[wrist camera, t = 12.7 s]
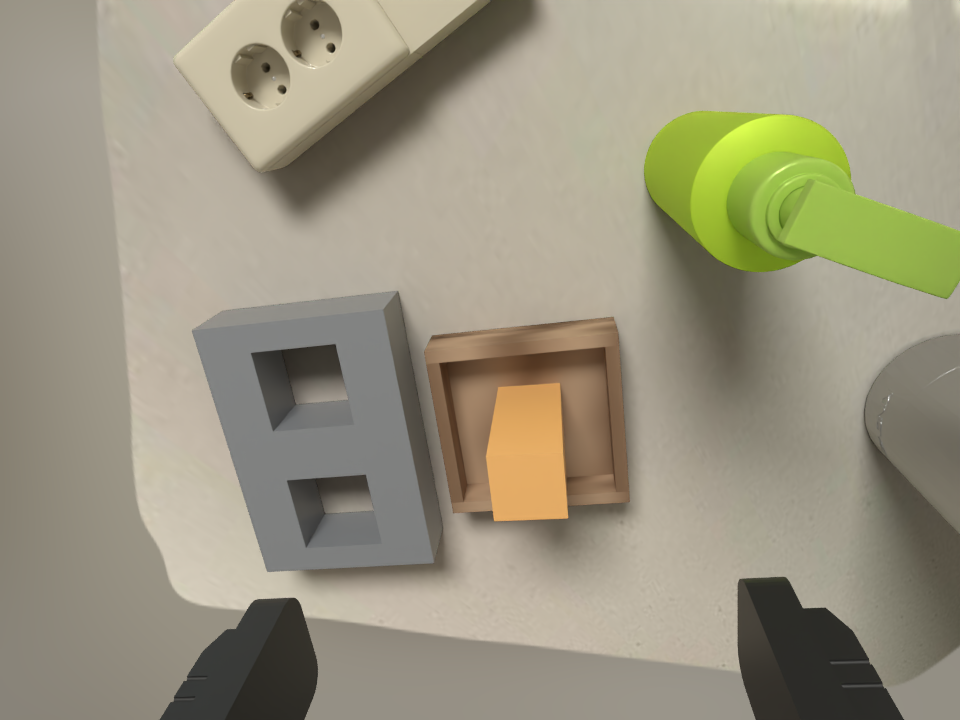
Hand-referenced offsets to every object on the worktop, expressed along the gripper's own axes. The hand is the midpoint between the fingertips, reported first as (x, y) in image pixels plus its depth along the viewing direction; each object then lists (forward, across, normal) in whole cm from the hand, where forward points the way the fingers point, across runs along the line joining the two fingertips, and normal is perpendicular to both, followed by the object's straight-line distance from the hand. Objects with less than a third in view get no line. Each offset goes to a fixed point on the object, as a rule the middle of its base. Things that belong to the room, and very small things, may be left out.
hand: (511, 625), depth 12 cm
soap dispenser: (+30, -10, -4) cm, 32 cm away
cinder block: (+30, +15, +10) cm, 35 cm away
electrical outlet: (+31, +8, -14) cm, 35 cm away
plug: (+29, +1, +10) cm, 31 cm away
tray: (+30, +2, +10) cm, 32 cm away
